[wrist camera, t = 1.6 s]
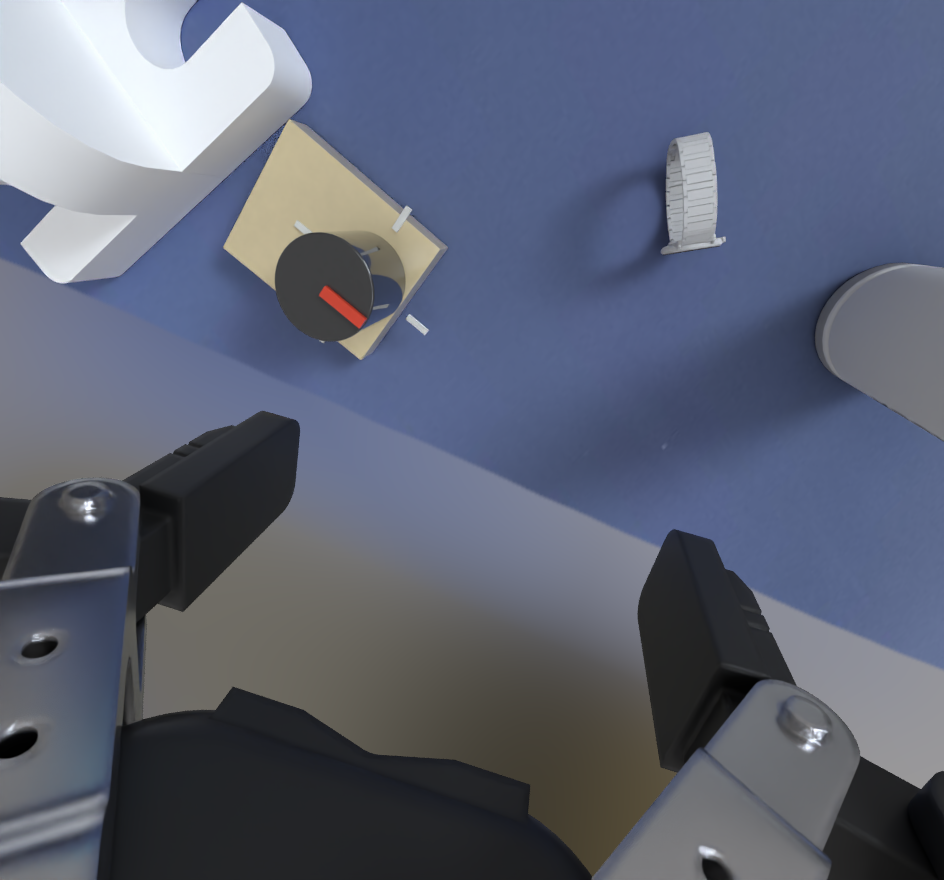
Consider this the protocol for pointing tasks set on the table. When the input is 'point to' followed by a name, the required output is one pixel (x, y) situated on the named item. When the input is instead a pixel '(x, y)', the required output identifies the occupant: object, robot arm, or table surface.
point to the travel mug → (890, 339)
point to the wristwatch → (691, 195)
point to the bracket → (131, 119)
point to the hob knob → (338, 283)
